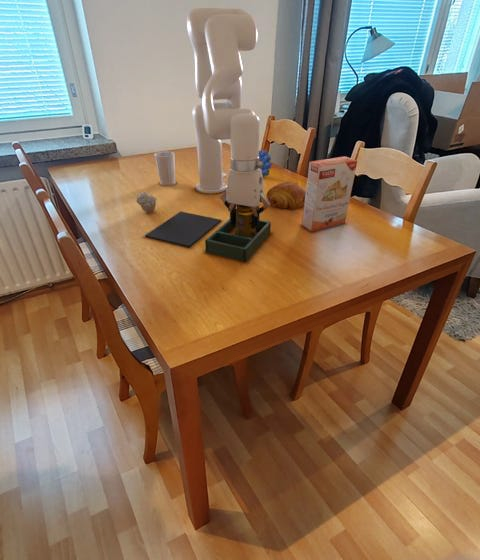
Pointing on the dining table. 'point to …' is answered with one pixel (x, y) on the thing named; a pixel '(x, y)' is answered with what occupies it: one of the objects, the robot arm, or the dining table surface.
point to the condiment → (244, 221)
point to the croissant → (286, 195)
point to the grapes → (265, 162)
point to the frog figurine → (146, 202)
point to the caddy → (236, 241)
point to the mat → (183, 229)
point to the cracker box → (328, 192)
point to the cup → (166, 167)
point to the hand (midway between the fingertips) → (244, 224)
